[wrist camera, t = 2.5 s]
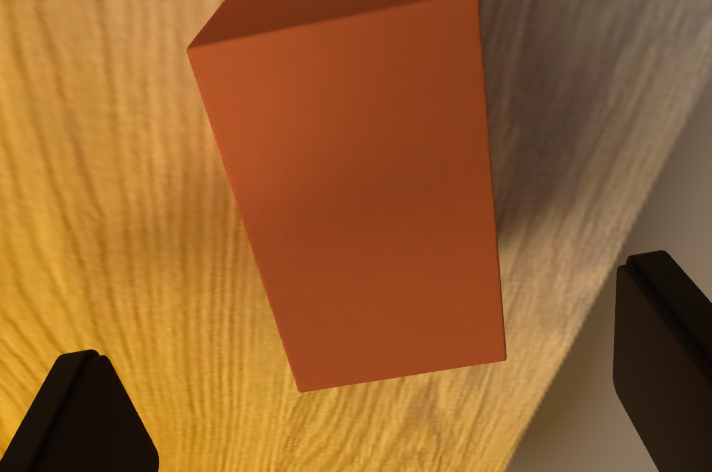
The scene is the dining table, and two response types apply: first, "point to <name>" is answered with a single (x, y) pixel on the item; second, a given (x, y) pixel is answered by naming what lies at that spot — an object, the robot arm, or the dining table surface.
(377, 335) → the orange block
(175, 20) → the dining table surface
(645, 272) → the robot arm
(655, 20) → the dining table surface
